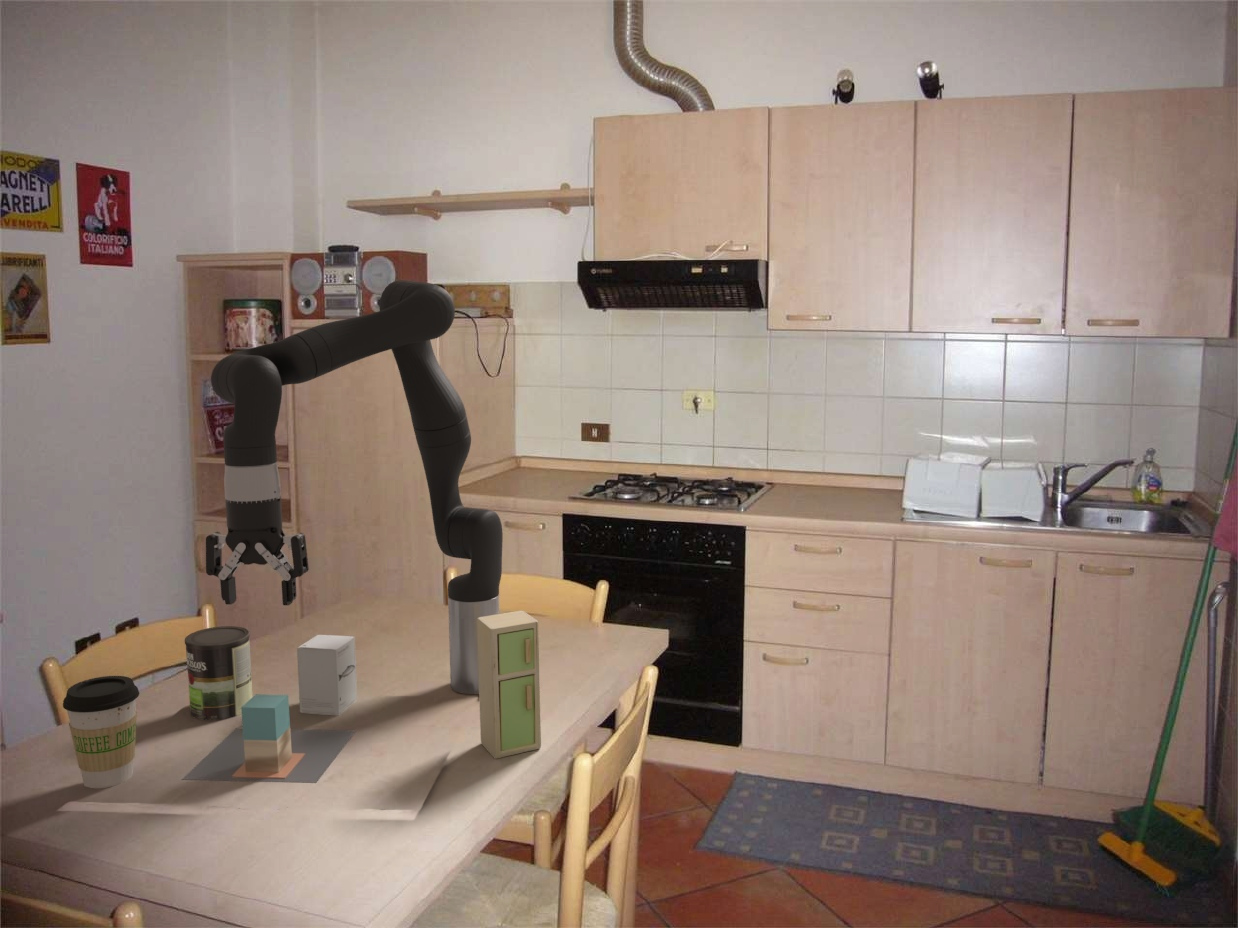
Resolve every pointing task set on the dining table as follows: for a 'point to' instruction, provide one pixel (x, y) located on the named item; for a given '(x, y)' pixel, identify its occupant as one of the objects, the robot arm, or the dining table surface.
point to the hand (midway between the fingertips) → (259, 603)
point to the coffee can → (218, 672)
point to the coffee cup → (103, 728)
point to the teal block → (265, 717)
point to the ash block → (268, 754)
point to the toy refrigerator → (509, 683)
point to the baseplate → (305, 766)
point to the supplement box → (327, 674)
